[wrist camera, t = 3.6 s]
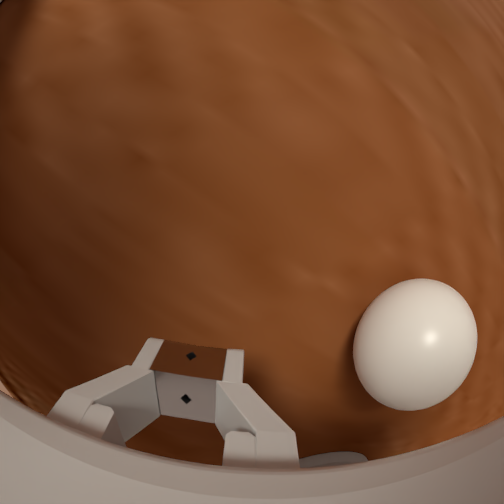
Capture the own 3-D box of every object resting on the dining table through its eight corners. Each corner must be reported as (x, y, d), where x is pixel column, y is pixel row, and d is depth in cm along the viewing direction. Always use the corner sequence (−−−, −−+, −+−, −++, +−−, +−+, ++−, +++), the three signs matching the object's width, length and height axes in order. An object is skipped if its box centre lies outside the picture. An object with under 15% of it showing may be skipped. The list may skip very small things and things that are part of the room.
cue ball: (325, 360, 13) (356, 447, 8) (353, 254, 11) (422, 316, 6) (412, 357, 13) (459, 422, 8) (446, 266, 12) (519, 313, 6)
